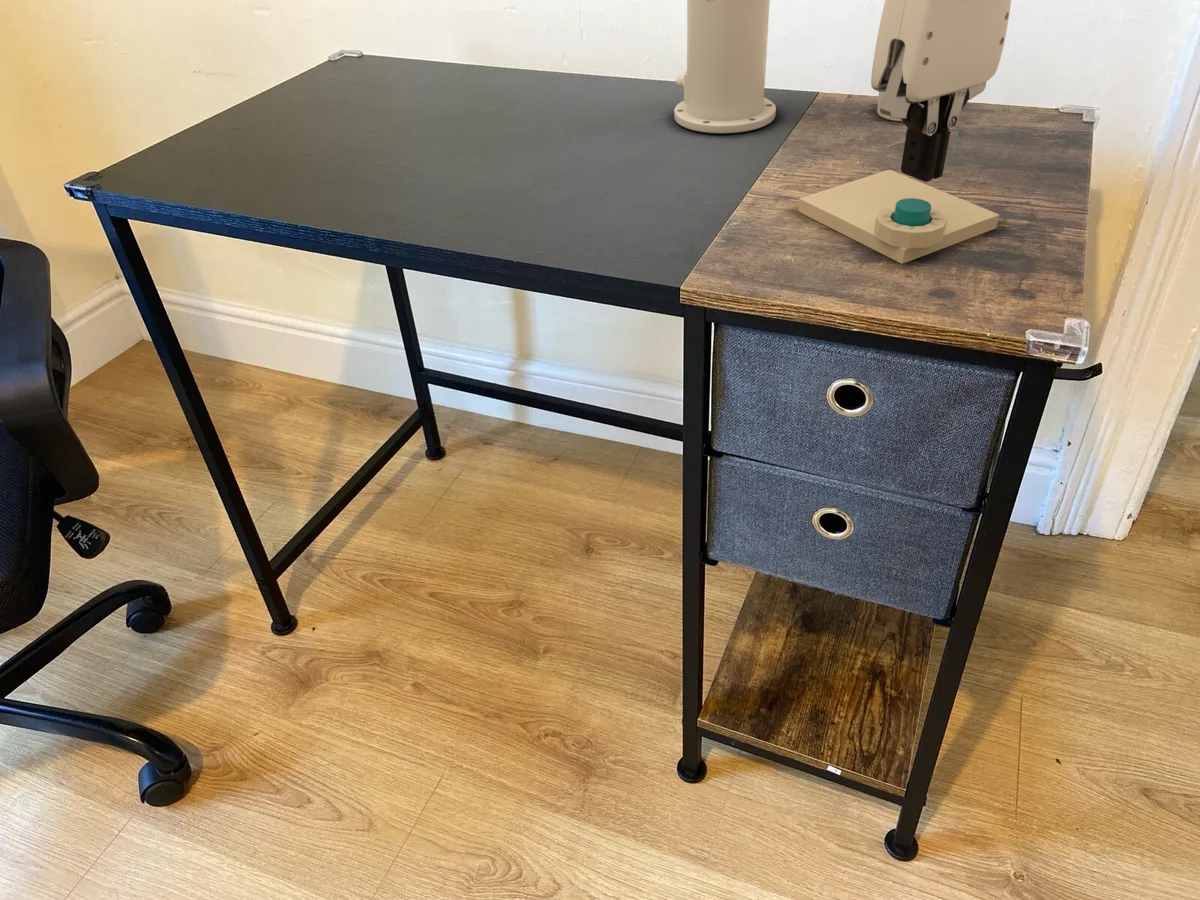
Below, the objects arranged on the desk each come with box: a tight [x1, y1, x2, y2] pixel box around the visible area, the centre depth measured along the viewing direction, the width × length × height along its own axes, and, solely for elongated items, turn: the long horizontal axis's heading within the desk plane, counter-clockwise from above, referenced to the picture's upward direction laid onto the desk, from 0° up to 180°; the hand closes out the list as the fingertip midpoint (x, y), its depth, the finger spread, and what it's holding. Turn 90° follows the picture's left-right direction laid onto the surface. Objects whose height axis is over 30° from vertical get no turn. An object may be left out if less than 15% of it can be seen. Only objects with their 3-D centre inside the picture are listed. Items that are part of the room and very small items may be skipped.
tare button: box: [893, 198, 931, 227], centre depth 78 cm, size 3×3×2 cm
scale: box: [797, 169, 1000, 265], centre depth 83 cm, size 15×12×3 cm
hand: (920, 174), depth 75 cm, fingers closed
